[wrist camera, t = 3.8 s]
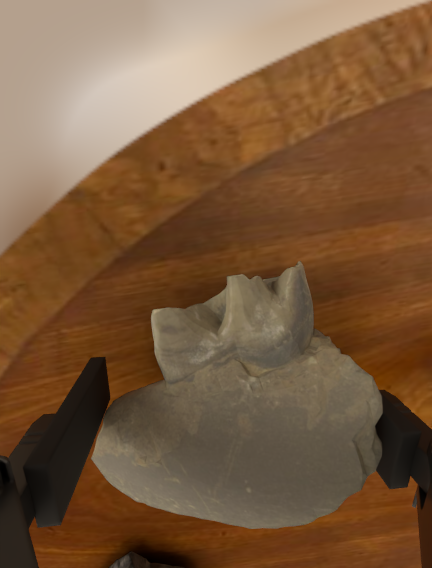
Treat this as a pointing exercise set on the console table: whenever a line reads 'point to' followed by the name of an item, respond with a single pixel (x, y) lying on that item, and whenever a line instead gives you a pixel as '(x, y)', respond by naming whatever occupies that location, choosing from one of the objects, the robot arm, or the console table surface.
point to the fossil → (245, 412)
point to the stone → (137, 562)
